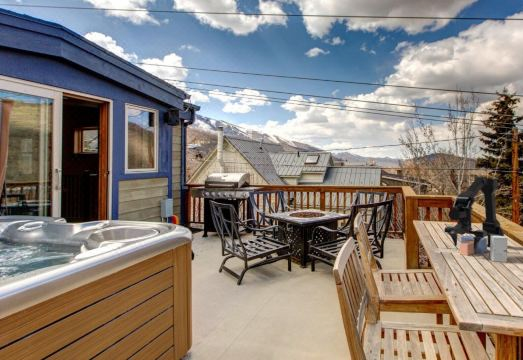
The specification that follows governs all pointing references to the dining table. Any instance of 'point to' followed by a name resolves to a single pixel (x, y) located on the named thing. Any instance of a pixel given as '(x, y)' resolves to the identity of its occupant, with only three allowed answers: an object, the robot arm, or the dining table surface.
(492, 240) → the skincare box
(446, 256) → the dining table surface
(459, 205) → the robot arm
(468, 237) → the block
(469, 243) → the salmon pink prism
